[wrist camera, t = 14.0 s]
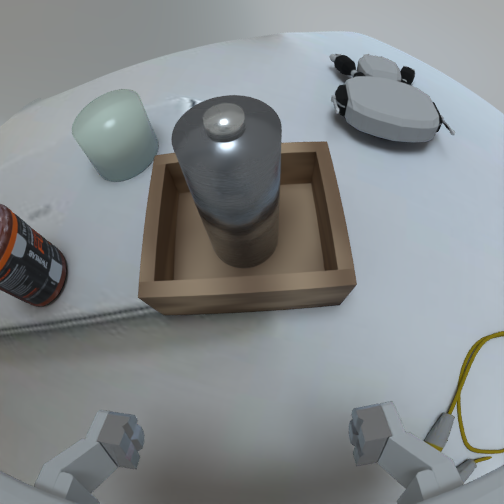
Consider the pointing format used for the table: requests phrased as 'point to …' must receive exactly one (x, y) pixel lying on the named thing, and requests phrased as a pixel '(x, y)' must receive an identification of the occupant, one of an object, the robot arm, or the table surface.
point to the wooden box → (261, 276)
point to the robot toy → (385, 100)
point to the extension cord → (444, 423)
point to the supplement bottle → (28, 262)
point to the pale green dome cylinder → (116, 135)
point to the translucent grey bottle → (233, 174)
